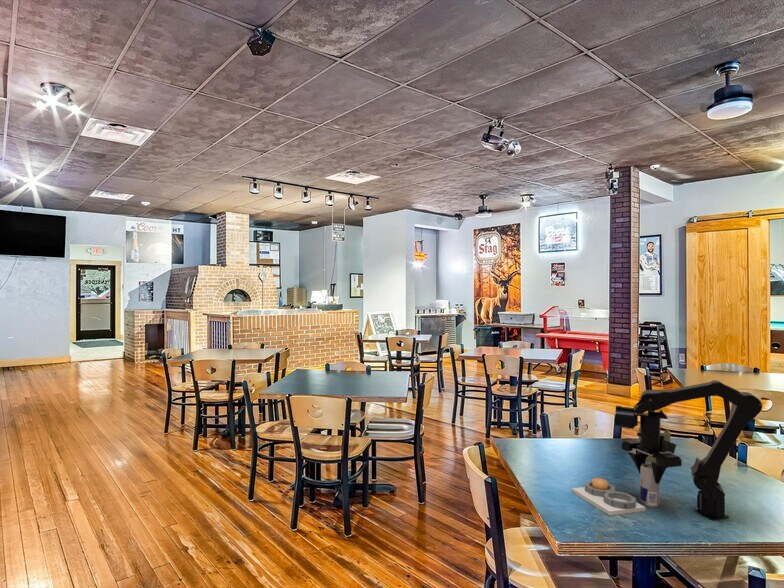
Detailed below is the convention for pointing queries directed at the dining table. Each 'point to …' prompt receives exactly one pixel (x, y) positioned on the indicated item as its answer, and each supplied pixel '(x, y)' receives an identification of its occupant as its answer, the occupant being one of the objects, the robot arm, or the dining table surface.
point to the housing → (607, 497)
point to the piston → (652, 459)
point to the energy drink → (648, 486)
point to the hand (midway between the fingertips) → (649, 480)
